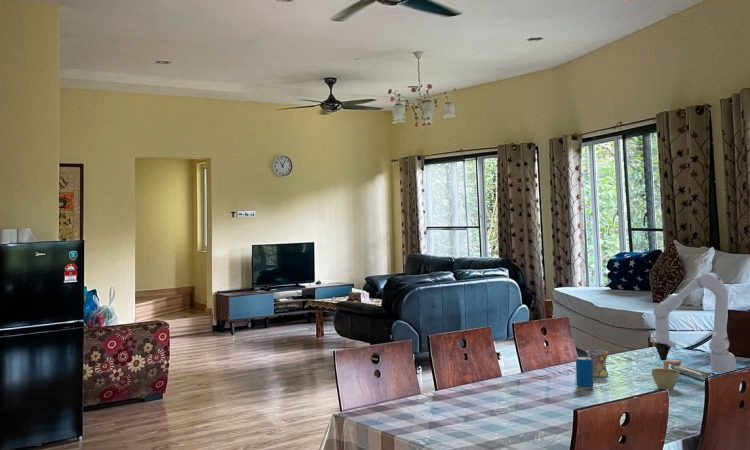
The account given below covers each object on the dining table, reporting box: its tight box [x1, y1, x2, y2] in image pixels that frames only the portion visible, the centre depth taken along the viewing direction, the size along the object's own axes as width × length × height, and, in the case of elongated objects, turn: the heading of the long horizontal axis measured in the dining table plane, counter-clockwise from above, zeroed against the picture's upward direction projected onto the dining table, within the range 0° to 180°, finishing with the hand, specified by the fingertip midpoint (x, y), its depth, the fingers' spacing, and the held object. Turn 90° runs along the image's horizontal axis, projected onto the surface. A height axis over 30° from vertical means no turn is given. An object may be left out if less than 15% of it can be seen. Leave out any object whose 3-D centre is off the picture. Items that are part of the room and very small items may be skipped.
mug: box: [585, 349, 609, 378], centre depth 269 cm, size 12×9×11 cm
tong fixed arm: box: [670, 364, 711, 377], centre depth 268 cm, size 4×21×2 cm, turn 14°
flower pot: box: [651, 368, 680, 391], centre depth 243 cm, size 10×10×7 cm
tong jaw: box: [677, 367, 706, 380], centre depth 263 cm, size 16×3×2 cm, turn 10°
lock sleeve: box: [662, 359, 682, 369], centre depth 277 cm, size 7×2×4 cm, turn 104°
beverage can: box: [575, 356, 594, 390], centre depth 249 cm, size 6×6×12 cm
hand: (663, 360), depth 282 cm, fingers closed
